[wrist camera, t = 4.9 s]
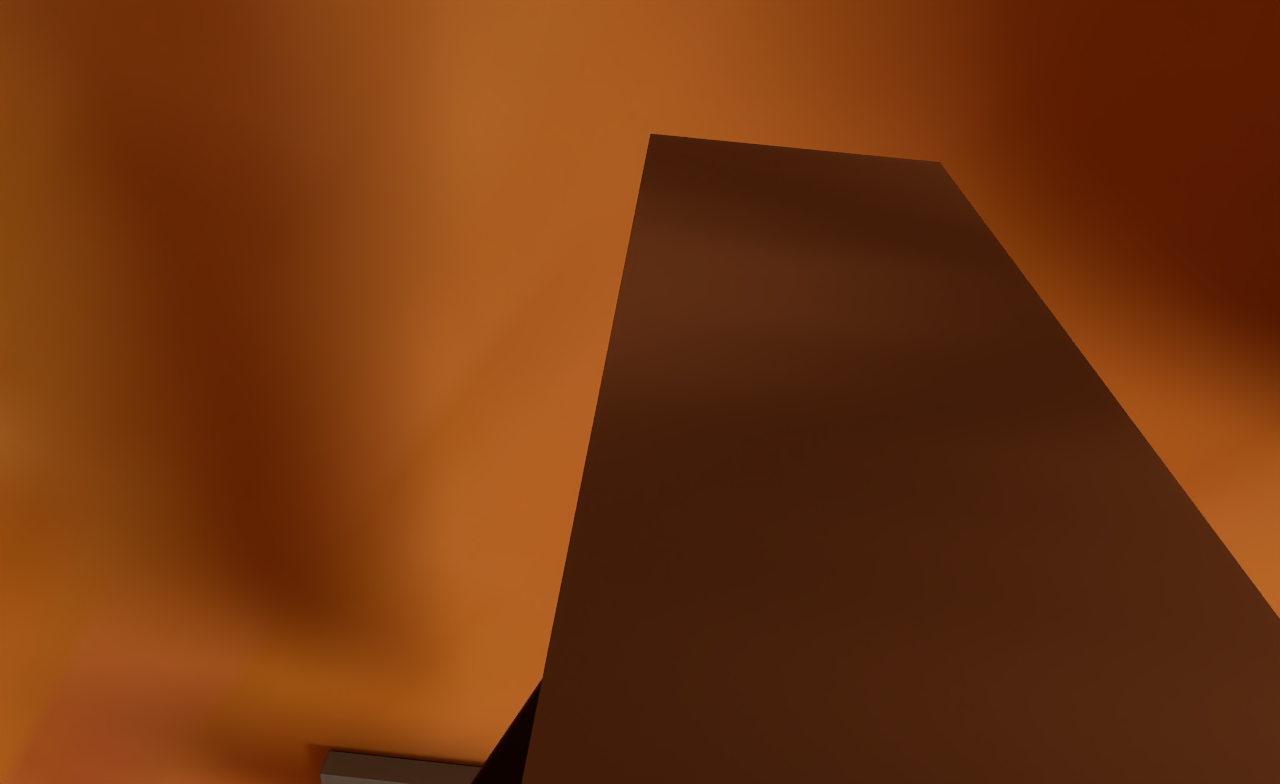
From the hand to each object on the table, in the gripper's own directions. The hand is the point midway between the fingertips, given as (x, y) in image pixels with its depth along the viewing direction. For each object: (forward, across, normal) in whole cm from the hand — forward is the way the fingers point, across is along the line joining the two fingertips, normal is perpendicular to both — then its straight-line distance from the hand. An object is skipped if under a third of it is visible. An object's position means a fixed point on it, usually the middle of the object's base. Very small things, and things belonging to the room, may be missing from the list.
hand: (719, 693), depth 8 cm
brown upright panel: (+2, 0, +6) cm, 6 cm away
